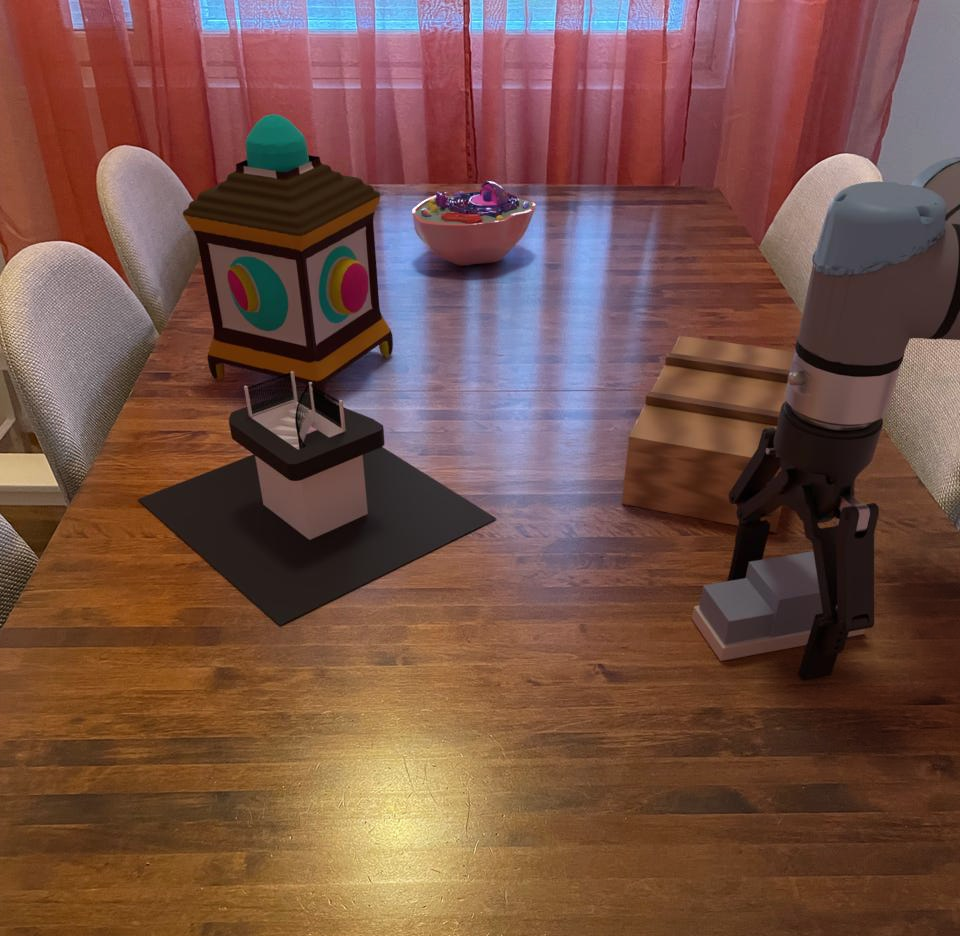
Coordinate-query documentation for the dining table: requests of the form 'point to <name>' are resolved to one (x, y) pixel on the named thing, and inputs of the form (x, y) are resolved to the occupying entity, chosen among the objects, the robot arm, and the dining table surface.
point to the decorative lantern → (289, 262)
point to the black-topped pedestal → (310, 504)
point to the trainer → (762, 608)
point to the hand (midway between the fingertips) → (776, 625)
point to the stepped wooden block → (704, 427)
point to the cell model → (473, 223)
